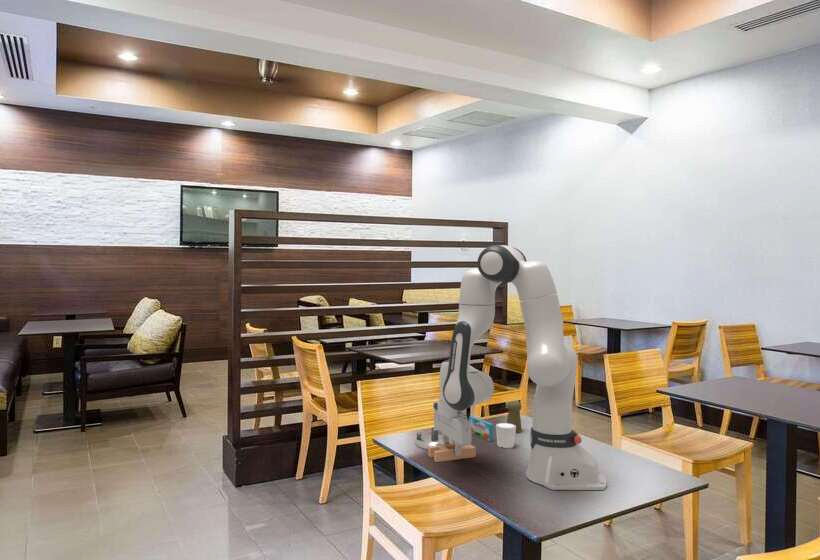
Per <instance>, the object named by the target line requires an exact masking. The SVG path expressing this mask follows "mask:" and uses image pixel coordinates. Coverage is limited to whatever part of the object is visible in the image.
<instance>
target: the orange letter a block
mask: <svg viewBox="0 0 820 560" xmlns="http://www.w3.org/2000/svg"><path fill="white" fill-rule="evenodd" d="M455 447H456V445H455V443H454V444H447V445H439V446H430V447H428V450H427V452H428V453H427V455H428V456H427V457H429V458H434V459H433V460H434V462H435V463H439V462H440V463H441V462H447V461H455V460H463V459H469V458H476V456H477V455H476V453H477V451H476V450H477V448H476V446H474V445H472V443H471V444H470V445H466V446H462V449H461V455H458V456H456V455H455V454H454V449H455Z"/></svg>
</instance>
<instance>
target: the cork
mask: <svg viewBox="0 0 820 560" xmlns="http://www.w3.org/2000/svg"><path fill="white" fill-rule="evenodd" d="M506 407H507V410H508V412H507V419H506V423H510V424H514V425H515V426H516V432H515V434H521V433H522V432H523V430H522V420H521V419H522V418H521V412H520V411H521V410H522V403H520V402H519V401H516V400H515V401H513V400H512V401H509V402H507V404H506Z"/></svg>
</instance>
